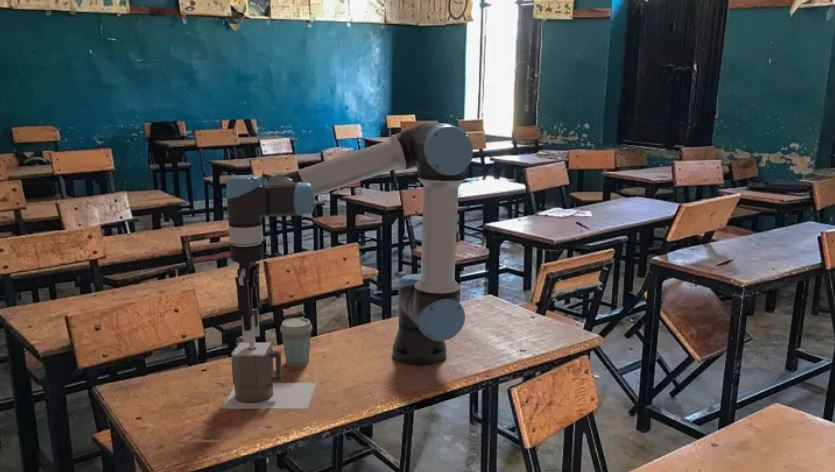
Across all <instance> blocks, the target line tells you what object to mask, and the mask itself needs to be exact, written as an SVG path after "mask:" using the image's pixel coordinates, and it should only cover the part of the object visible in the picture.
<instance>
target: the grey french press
mask: <svg viewBox="0 0 835 472" xmlns="http://www.w3.org/2000/svg"><path fill="white" fill-rule="evenodd" d="M254 348H255V350H249V343H243V341H242V342H239V343H238V344H237V345H236V346H235V347H234V348H233V350H232V351H231V353H230V357H231V371H232V372H231V373H232V384H234V387H235V398H236V400H237V401H239V402H242V403H259V402H263V401H266V400H268V399H270V398H271V397H272V396H273V383H274V382H281V381H282V379H283V372H282V351H281V350H273V346H272V342H255V343H254ZM250 356H255V357H250ZM274 358H275V370H274ZM274 371H275V372H274ZM274 373H275V374H274Z"/></svg>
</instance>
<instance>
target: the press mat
mask: <svg viewBox="0 0 835 472" xmlns="http://www.w3.org/2000/svg"><path fill="white" fill-rule="evenodd" d="M316 386H317V382H273V396H272V397H271V398H270V399H268V400H266V401H263V402H259V403H242V402H239V401H237V400H236V398H235V386H234V387H233V389H232V390H231V392H230V394H229V395H228V397H227V399H226V400H225V402H224V403H223V405H222V407H221V409H237V410H238V409H242V410H243V409H250V410H251V409H255V410H258V409H260V410H262V409H266V410H267V409H270V410H271V409H272V410H275V409H279V410H280V409H281V410H282V409H283V410H289V409H290V410H293V409H295V410H303V409H307V410H308V409H309V407H310V406H309V405H310V403H311V400H312V397H313V395H314V391H315V388H316Z"/></svg>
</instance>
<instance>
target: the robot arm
mask: <svg viewBox="0 0 835 472" xmlns="http://www.w3.org/2000/svg"><path fill="white" fill-rule="evenodd" d="M473 154H474V147H473V143H472V141H471V138H470V137H469V135H468V134H467V133H466V132H465V130H463V129H462V128H460V127H458V126H456V125H454V124H451V123H450V124H449V123H439V122H434V121H428V122H423V123H420V124H418V125H415V126H413V127H410V128H408V129H405V130H402V131H401V132H396V133H395V134H391V135H390V138H389V139H388V140H385V141H382V142H380V143H376V144H374V145H371V146H368V147H365V148H361V149H357V150H355V151H352V152H349V153H346V154H343V155H340V156H337V157H334V158H331V159H328V160H325V161H322V162H318V163H315V164H313V165H310V166H307V167H304V168H299V169H298V170H295V171H291V172H288V173H284V174H280V173H279V174H275V175H273V176H271V177H270V178H269V179H268V180H267V182H266V183H262V182H261V178H260V176H258V175H253V174H243V175H242V174H240V175H239V174H238V175H237V174H236V175H233V176H230V177H229V178H227V180H226V205H227V206H226V207H227V209H226V210H227V222H228V228H227V229H226V233H227V234H229V237H228V238H229V240H228V241H229V243H231V244H230V245H229V257H230V260H231V261H232V262H233V263H237V264H238V268H237V272H236V273H237V274H236V275H237V276H235V278H234V280H235V285H236V294H237V307H238V308H237V309H238V314H237V317H238V318H241V328H242V329H241V330H242V342H243V343H256V337H260V319H259V318H260V317H259V314H258V326H257V327H255V325H254V315H253V307H257V308H258V310H259V309H263V308H262V307H263V306H262V304H261V292H260V291H261V290H260V288H261V286H260V285H261V284H260V267H261V266H260V263H258V262H259V261H262V260H263V259H264V255H265V254H264V243H262V241H264V232H263V218H264V217H265V218H267V217H281V216H282V217H285V216H298V217H299V216H302V215H310V214H312V213H313V212H314V210H315V197H317V196H319V195H322V194H326V193H328V192H331V191H334V190H337V189H340V188H343V187H345V186H349V185H353V184H355V183H358V182H361V181H363V180H367V179H369V178H370V179H371V178H372V177H376V176H379V175H382V174H384V173H387V172H391V171H393V170H397V169H398V170H401V171H406V170H409V169H414V168H418V169H417V179H418V180H419V182H420V183H421V184H422V185H423V201H422V225H421V226H422V227H421V228H422V231H421V234H422V235H421V257H420V258H421V262H420V273H412V274H407V275H403V276H401V277H400V278H399V280H398V287H397V290H398V329H397V333H396V336H395V338H394V342H393V345H392V357H393V358H394V359H395V360H397V361H398V362H401V363H403V364H408V365H419V366H420V365H421V366H422V365H431V364H436V363H439V362H442V361H444V359H446V357H447V343H446V341H448V340H450V339H452V338H455V337H456V335H457V334H459V333H460V332H461V330H462V329H463V327H464V325H465V321H466V313H465V309H464V307H463V305H462V304H461V303H460V300H461V299H460V297H461V296H460V295H461V286H460V284H459V283H458V282H457V280H455V274H456V273H455V270H456V255H457V254H456V253H457V252H456V251H457V249H456V247H457V226H458V225H457V224H458V223H457V222H458V204H459V203H458V202H459V200H458V199H459V188H460V186H461V184H463V182H465V181H466V169H467V168H468V167H469V165H470V164H471V162H472V159H473V156H474V155H473Z"/></svg>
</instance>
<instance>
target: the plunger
mask: <svg viewBox="0 0 835 472" xmlns="http://www.w3.org/2000/svg"><path fill="white" fill-rule="evenodd" d="M253 315H254V325H255V327H257V326H258V315H259V309H258V308H257V307H253ZM249 350H255V348H254V343H249ZM250 357H255V356H250Z"/></svg>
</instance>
